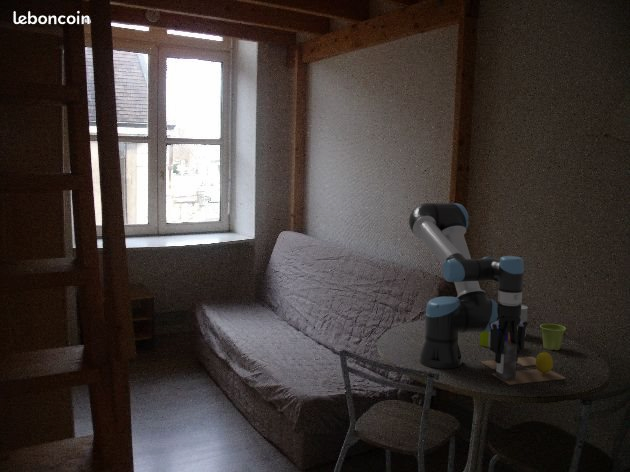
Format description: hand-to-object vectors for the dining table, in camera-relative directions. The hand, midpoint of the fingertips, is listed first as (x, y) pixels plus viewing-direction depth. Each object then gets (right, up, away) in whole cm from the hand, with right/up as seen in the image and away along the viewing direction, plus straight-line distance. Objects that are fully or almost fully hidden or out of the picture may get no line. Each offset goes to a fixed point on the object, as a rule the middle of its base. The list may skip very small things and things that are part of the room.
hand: (505, 371), depth 195 cm
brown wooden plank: (+8, -1, +16) cm, 18 cm away
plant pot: (+29, +1, +35) cm, 46 cm away
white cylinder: (+21, +3, +53) cm, 57 cm away
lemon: (+14, -2, +4) cm, 15 cm away
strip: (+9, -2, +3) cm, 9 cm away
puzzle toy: (+9, +1, +38) cm, 39 cm away
